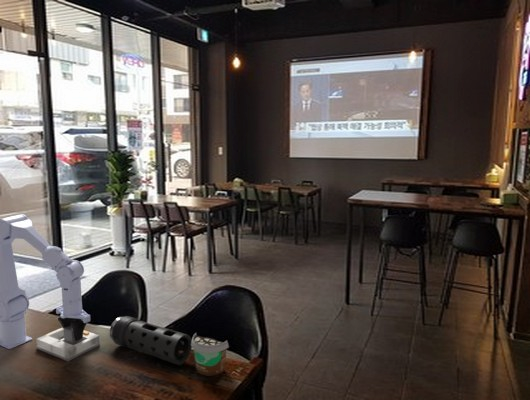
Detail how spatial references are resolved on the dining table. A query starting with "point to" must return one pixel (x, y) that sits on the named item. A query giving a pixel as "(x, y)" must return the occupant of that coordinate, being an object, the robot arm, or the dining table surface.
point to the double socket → (66, 344)
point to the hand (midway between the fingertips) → (74, 337)
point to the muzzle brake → (151, 339)
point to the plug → (70, 336)
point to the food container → (209, 355)
